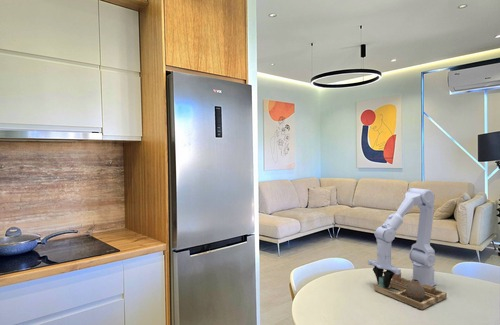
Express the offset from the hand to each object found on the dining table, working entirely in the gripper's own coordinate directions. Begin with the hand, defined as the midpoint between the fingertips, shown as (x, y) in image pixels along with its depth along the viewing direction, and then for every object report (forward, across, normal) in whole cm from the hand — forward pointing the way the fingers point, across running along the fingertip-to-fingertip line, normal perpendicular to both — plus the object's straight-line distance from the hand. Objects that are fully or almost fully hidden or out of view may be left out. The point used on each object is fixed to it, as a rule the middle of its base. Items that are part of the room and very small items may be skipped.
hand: (383, 285), depth 137 cm
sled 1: (+2, +9, 0) cm, 9 cm away
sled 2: (+2, +9, +10) cm, 14 cm away
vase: (+2, +14, 0) cm, 14 cm away
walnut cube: (+2, +14, +10) cm, 17 cm away
